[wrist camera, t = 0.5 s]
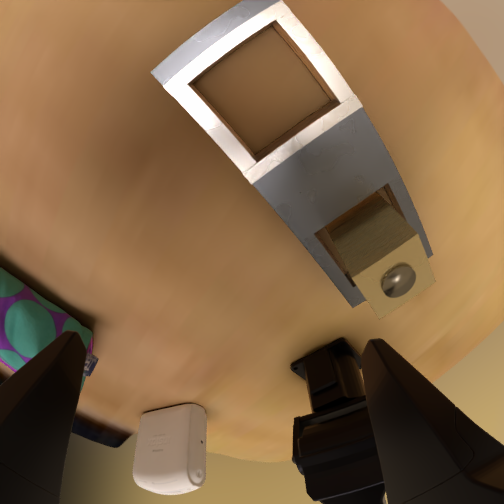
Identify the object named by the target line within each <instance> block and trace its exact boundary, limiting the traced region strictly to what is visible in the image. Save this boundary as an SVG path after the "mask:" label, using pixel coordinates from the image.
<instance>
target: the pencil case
mask: <svg viewBox="0 0 504 504" xmlns="http://www.w3.org/2000/svg"><path fill="white" fill-rule="evenodd" d="M66 330H71V331H77V332H78V333H79V334H80V336H81V338H82V341H83V343H84V345H85V347H86V350H87V357H86V362H85V367H84V373H83V378H82V385H81V390H82V387H83V384H84V381H85V378H86V376H88V375H89V376H90V375H91V373H92V371H93V370H94V368H95V366H96V364H97V361H98V358H97V357H96V356H94V355H92V347H93V340H92V335H93V333H92V332H91V331H90V330H89V329H88V328H86V327H83V326H82V325H81V324H80V323H79V322H78V321H77V320H76V319H74V318H73V317H71V316H70V315H68V314H67V313H66V312H65V311H63V310H62V309H60V308H59V307H57V306H56V305H55V304H53V303H51V302H49V301H47V300H46V299H44V298H43V297H42V296H40V295H39V294H38V293H36V292H35V291H34V290H32V289H31V288H30V287H28V286H27V285H26V284H24V283H23V282H21V281H20V280H18V279H17V278H15V277H14V276H12V275H11V274H9V273H8V272H7V271H5V270H4V269H2V268H1V267H0V361H1V362H2V363H4V364H5V365H6V366H8V367H9V368H10V369H12V370H13V371H14V372H16V371H18V370H19V369H20V368H21V367H22V366H23V365H25V364H26V363H27V362H28V361H29V360H30V359H32V358H33V357H34V356H35V355H36V354H38V353H39V352H40V351H41V350H42V349H44V348H45V347H46V346H47V345H49V344H50V343H51V342H52V341H53V340H55V339H56V338H57V337H58V336H60V335H61V334H62V333H63V332H65V331H66ZM80 392H81V391H80Z"/></svg>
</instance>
